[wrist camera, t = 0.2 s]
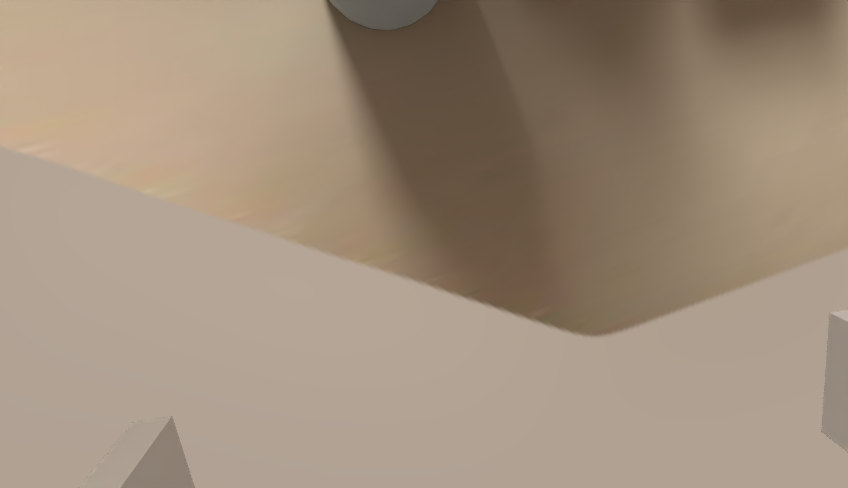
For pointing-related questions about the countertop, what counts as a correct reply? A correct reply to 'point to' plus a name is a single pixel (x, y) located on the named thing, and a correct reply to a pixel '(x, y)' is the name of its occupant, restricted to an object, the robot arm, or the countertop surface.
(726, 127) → the countertop surface
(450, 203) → the countertop surface
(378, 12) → the spray bottle
